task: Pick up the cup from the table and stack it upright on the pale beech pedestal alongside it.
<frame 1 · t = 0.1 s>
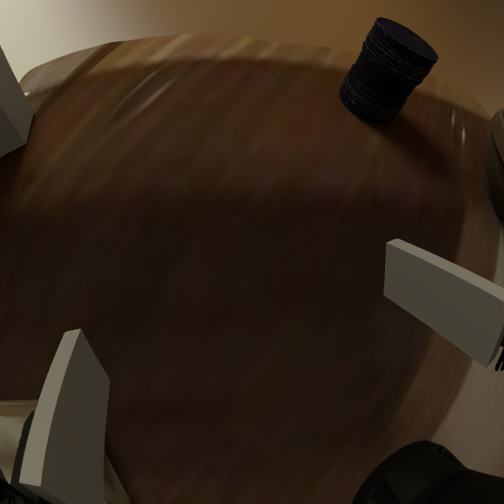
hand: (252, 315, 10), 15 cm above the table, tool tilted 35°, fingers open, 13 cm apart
pedestal: (58, 453, 18), on the table
storage jar: (365, 104, 38), on the table
flower pot: (501, 197, 39), on the table
milk carton: (14, 136, 27), on the table
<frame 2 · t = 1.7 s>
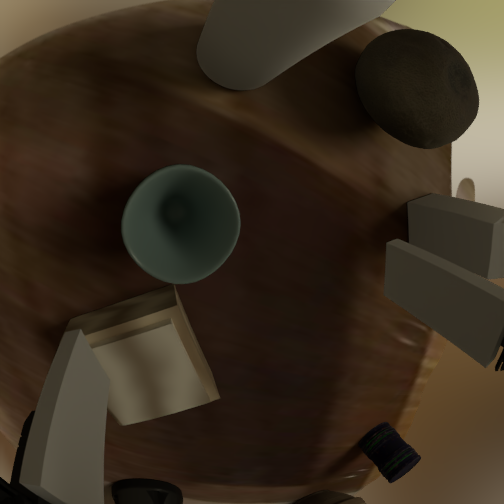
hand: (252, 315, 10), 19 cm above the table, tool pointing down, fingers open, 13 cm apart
pedestal: (142, 349, 29), on the table
cup: (174, 207, 26), on the table
storage jar: (373, 434, 56), on the table
flower pot: (309, 499, 61), on the table
dark rounded piece: (371, 95, 30), on the table
milk carton: (420, 218, 38), on the table
alcohol: (236, 56, 24), on the table
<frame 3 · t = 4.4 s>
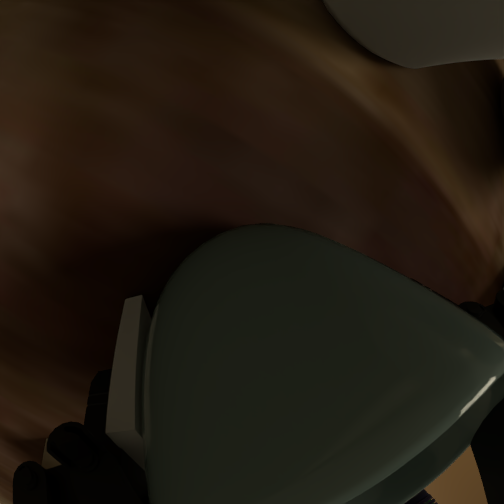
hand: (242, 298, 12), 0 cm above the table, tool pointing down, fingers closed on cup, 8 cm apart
cup: (239, 293, 12), on the table, touching gripper
storage jar: (394, 482, 42), on the table
dark rounded piece: (503, 121, 15), on the table
alcohol: (373, 4, 9), on the table
when the fingers open (8 cm above the table, at t = 9.5 s): cup drops 1 cm, resting on pedestal.
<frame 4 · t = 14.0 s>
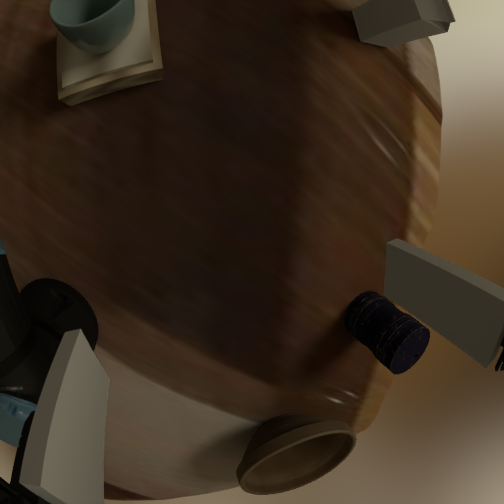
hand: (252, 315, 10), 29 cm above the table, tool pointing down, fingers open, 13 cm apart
pedestal: (111, 51, 26), on the table
cup: (106, 34, 21), point 6 cm above the table, touching pedestal
storage jar: (362, 311, 53), on the table
flower pot: (281, 429, 59), on the table
milk carton: (369, 29, 35), on the table
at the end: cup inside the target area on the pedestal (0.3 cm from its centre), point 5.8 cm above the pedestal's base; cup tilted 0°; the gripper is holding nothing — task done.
